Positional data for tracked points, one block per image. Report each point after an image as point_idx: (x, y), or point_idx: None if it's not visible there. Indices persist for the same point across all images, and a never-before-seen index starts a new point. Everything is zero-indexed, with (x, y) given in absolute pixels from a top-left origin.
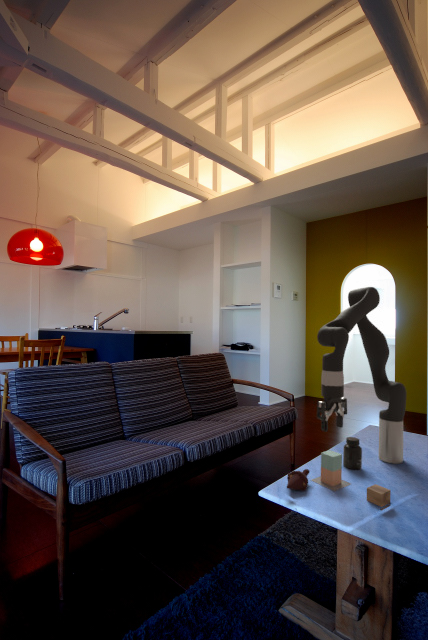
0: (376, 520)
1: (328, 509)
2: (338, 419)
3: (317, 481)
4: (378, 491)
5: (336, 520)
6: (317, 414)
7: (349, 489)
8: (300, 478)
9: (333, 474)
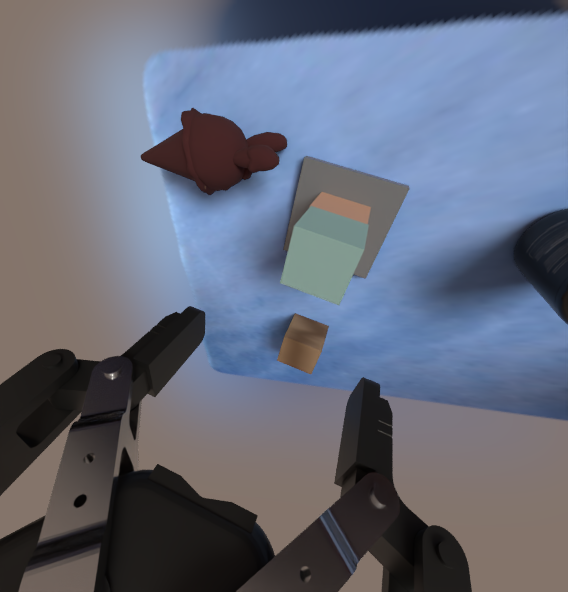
0: (245, 330)
1: (211, 255)
2: (348, 443)
3: (310, 184)
4: (285, 355)
5: (191, 277)
6: (13, 383)
7: None
8: (191, 175)
9: None
